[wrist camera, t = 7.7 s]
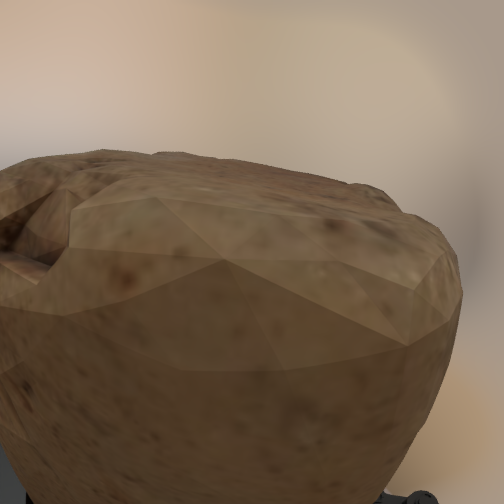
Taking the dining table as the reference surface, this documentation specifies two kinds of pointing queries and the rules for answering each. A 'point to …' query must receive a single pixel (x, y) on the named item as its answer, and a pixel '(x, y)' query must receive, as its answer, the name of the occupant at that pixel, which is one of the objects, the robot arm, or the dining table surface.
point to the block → (213, 331)
